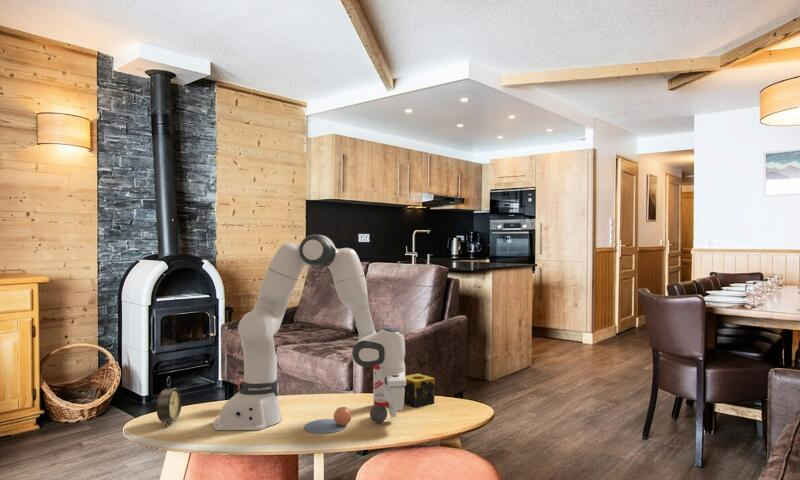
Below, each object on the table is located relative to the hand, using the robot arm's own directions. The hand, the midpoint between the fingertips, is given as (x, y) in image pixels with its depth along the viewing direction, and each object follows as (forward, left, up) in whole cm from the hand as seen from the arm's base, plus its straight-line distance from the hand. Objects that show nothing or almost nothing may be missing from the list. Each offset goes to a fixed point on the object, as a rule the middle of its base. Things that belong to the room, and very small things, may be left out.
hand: (392, 416), depth 170 cm
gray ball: (-5, 0, +1) cm, 5 cm away
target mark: (-23, 0, -2) cm, 23 cm away
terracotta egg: (-17, 0, +1) cm, 17 cm away
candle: (+13, +20, -2) cm, 24 cm away
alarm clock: (-76, +14, -2) cm, 77 cm away
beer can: (-1, +19, -2) cm, 19 cm away
